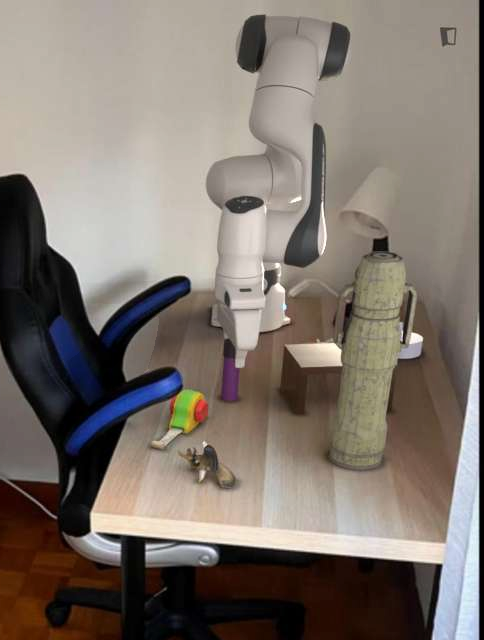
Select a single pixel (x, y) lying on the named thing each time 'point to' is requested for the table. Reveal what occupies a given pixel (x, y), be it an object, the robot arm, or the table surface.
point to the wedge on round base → (411, 346)
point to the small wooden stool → (312, 370)
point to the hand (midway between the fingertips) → (233, 358)
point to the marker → (229, 373)
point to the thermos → (369, 357)
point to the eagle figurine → (210, 465)
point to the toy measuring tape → (184, 415)
